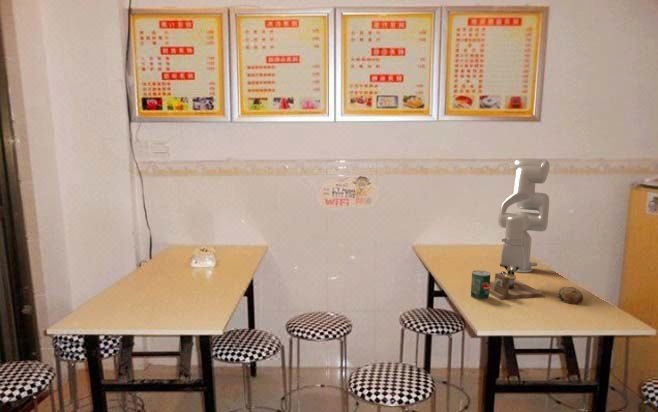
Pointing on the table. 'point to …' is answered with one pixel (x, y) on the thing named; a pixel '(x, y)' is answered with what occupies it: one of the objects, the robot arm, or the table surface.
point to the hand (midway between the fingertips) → (510, 279)
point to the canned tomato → (480, 285)
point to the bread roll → (570, 295)
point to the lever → (510, 279)
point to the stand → (503, 291)
